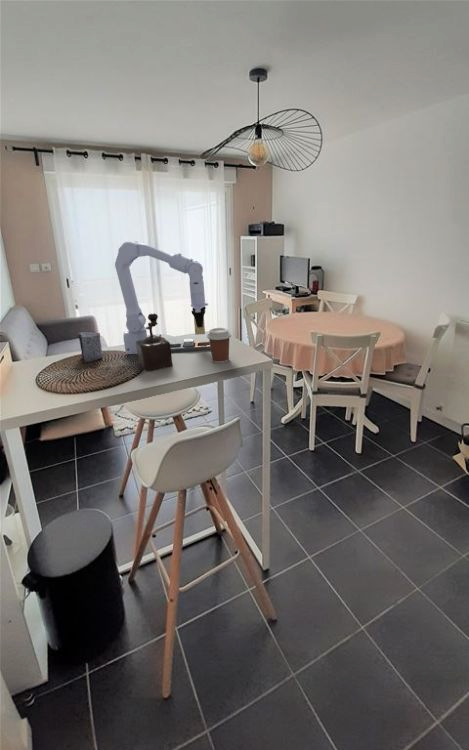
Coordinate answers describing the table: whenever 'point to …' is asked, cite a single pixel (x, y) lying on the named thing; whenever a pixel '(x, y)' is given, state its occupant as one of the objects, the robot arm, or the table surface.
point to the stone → (90, 346)
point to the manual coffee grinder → (154, 349)
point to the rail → (197, 347)
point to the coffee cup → (219, 344)
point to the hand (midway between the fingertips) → (200, 325)
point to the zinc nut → (189, 342)
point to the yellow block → (199, 330)
